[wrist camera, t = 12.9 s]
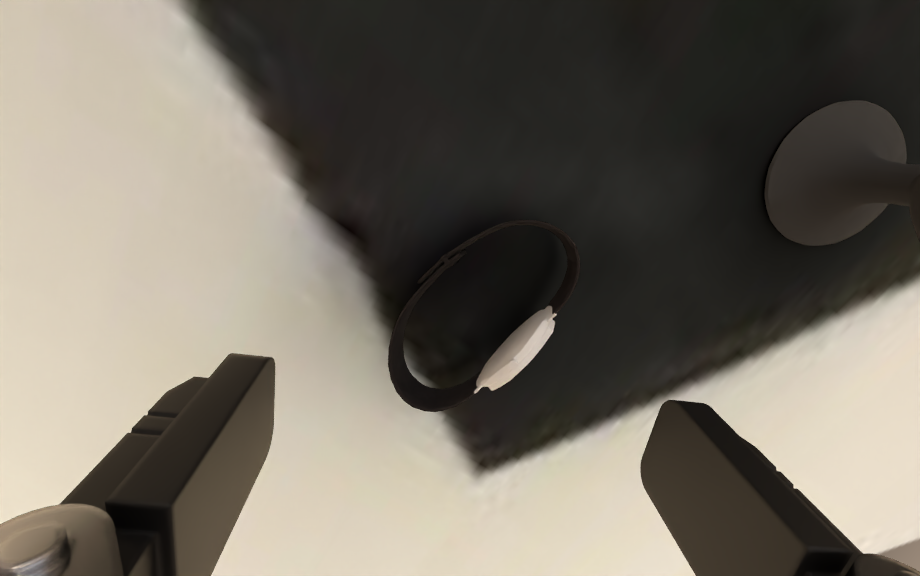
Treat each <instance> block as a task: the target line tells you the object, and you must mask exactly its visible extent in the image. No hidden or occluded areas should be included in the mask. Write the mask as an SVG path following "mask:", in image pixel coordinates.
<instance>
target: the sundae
mask: <svg viewBox="0 0 920 576" xmlns="http://www.w3.org/2000/svg"><path fill="white" fill-rule="evenodd" d="M906 160H907V153H906V144H905V140H904V136H903V132H902V131H901V129H900V127H899V125H898V124H897V122H896V120H895V119H894V118H893V117H892V116H891V114H890V113H889V112H888V111H887V110H885V109H883V108H882V107H880V106H878V105H876V104H873V103H870V102H867V101H864V100H850V101H843V102H836V103H833V104H831V105H829V106H826V107H824V108H821V109H820V110H818V111H816V112H814V113H812V114H811V115H809V116H807V117H806V118H805V119H804V120H803V121H802V122H800V123H799V124H798V125H797V126H796V127H795V128H794V129H793V130H792V131H791V132H790V133H789V134H788V135H787V137H786V138H785V139H784V140H783V142H782V143H781V145H780V147H779V148H778V150H777V152H776V153H775V155H774V158H773V160H772V162H771V164H770V166H769V169H768V174H767V178H766V184H765V194H764V197H765V202H766V208H767V211H768V214H769V217H770V220H771V222H772V223H773V224H774V226H775V227H776V228H777V230H778V231H779V232H780V233H781V234H782V235H784V236H785V237H786V238H788V239H790V240H792V241H794V242H796V243H800V244H804V245H807V246H816V245H827V244H834V243H837V242H839V241H842V240H844V239H847V238H849V237H851V236H852V235H854V234H856V233H858V232H860V231H861V230H862V229H864V228H865V227H866V226H867V225H868V224H870V223H871V222H872V221H873V220H874V219H875V218H876V217H877V216H878V215H879V214H881V213H882V212H883V211H884V209H885V208H886V207H887V205H888V204H896V205H902V206H908V207H909V212H910V216H911V219H912V223H913V226H914V229H915V231H916V234H917V237H918V239H919V242H920V165H918V164H906Z"/></svg>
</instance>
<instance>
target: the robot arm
mask: <svg viewBox="0 0 920 576" xmlns="http://www.w3.org/2000/svg"><path fill="white" fill-rule="evenodd" d="M274 396H275V362H274V359H273V358H272V357H263V356H254V355H244V354H234V353H231V354H229V355H228V356H227V357H226V358H225V359H224V361H223V362H222V363H221V364H220V365H219V367H218V368H217V369H216V370H215V371H214V372H213V374H212V375H211V376H210V377H209V378H203V377H193V378H191V379H189V380H188V381H186V382H184V383H182V384H180V385H178V386H177V387H175V388H173V389H171V390H169V391H167V392H166V393H165V394H164V395H163V396H162V397H161V399H160V400H159V401H158V402H157V403H156V404H155V405H154V406H153V407H152V408H151V409H150V410H149V411H148V415H147V416H145V415H144V416H143V417H142V418H141V420H140V421H139V422H138V423H137V424H136V425H135V426H134V427H133V428H132V431H131V433H127V434H126V435H125V436H124V437H123V438H122V439H121V440H120V442H119V443H118V444H117V445H116V446H115V447H114V448H113V449H112V450H111V451H110V452H109V453H108V454H107V455H106V456H105V457H104V458H103V459H102V460H101V461H100V463H99V464H98V465H97V466H96V467H95V468H94V469H93V470H92V471H91V472H90V473H89V474H88V475H87V476H86V477H85V478H84V479H83V480H82V481H81V482H80V484H79V485H78V486H77V487H76V488H75V489H74V490H73V491H72V492H71V493H70V494H69V495H68V496H67V497H66V498H65V499H64V500H63V501H62V502H61V503H60V505H55V506H49V507H44V508H41V509H37V510H34V511H30V512H28V513H25V514H22V515H19V516H17V517H15V518H12V519H10V520H8V521H6V522H4V523H2V524H0V576H211V574H212V572H213V570H214V568H215V566H216V563H217V561H218V559H219V557H220V555H221V553H222V551H223V549H224V546H225V544H226V542H227V540H228V538H229V536H230V534H231V532H232V530H233V527H234V525H235V523H236V521H237V519H238V517H239V515H240V513H241V511H242V508H243V506H244V504H245V502H246V500H247V498H248V496H249V494H250V491H251V489H252V487H253V485H254V483H255V481H256V479H257V477H258V475H259V472H260V470H261V468H262V466H263V464H264V462H265V460H266V457H267V455H268V452H269V448H270V445H271V440H272V435H273V427H274ZM641 478H642V482H643V486H644V488H645V490H646V492H647V494H648V495H649V497H650V499H651V500H652V502H653V504H654V505H655V507H656V509H657V511H658V512H659V514H660V516H661V517H662V519H663V521H664V522H665V524H666V526H667V527H668V529H669V531H670V533H671V534H672V536H673V538H674V539H675V541H676V543H677V544H678V546H679V548H680V549H681V551H682V553H683V555H684V556H685V558H686V560H687V561H688V563H689V565H690V566H691V568H692V570H693V571H694V573H695V575H696V576H920V572H919V571H917V570H916V569H914V568H912V567H910V566H908V565H906V564H904V563H901V562H899V561H897V560H894V559H891V558H888V557H885V556H881V555H877V554H863V553H862V552H861V551H860V550H859V549H858V548H857V547H856V546H855V545H854V544H853V543H852V542H851V541H850V540H849V539H848V538H847V537H846V536H845V535H844V534H843V533H842V532H841V531H840V530H839V529H838V528H837V527H836V526H835V525H833V524H832V523H831V522H830V521H829V520H828V519H827V518H826V517H825V516H824V515H823V514H822V513H821V512H820V511H819V510H818V509H817V508H816V507H815V506H814V505H813V504H812V503H811V502H810V501H809V500H808V499H807V498H806V497H805V496H804V495H803V494H802V493H801V492H800V491H799V490H798V489H794V488H793V484H792V483H791V482H790V481H789V480H788V479H787V478H786V477H785V476H784V475H783V474H782V473H781V472H779V471H776V467H775V466H774V465H773V464H772V463H771V462H770V461H769V460H768V459H767V458H766V457H765V456H764V455H763V454H762V453H761V452H760V451H759V450H758V449H757V448H756V447H755V446H753V445H752V444H750V443H749V442H747V441H746V440H744V439H743V438H741V437H740V436H739V435H738V434H737V433H736V432H735V431H734V430H733V429H732V428H731V427H730V426H729V425H728V424H727V423H726V422H725V421H724V420H723V419H722V418H721V417H720V416H719V415H718V414H717V413H716V412H715V411H714V410H713V409H712V408H711V407H710V406H709V405H707V404H704V403H696V402H686V401H677V400H668V401H666V402H665V403H664V404H663V405H662V406H661V408H660V410H659V413H658V416H657V418H656V421H655V424H654V427H653V429H652V432H651V435H650V437H649V440H648V443H647V446H646V448H645V451H644V454H643V457H642V460H641Z"/></svg>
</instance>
